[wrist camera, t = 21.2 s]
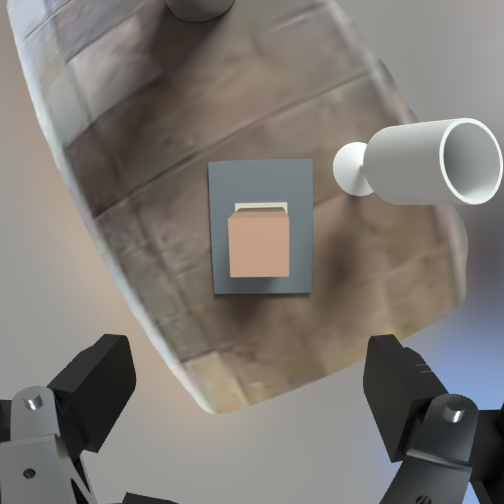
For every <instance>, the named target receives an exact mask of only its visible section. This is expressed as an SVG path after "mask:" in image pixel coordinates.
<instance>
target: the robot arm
mask: <svg viewBox="0 0 504 504" xmlns="http://www.w3.org/2000/svg"><path fill="white" fill-rule="evenodd" d="M165 2H166V4H167V5H168V7H169V8H170V10H171V12H172V13H173V14H174V15H175V16H176V17H178V18H180V19H182V20H185V21H189V22H203V21H208V20H211V19H214V18H216V17H218V16H220V15H222V14H223V13H224V12H226V11H227V10H228V9H229V8H230V7H231V6H232V4H233V2H234V0H165ZM135 386H136V373H135V368H134V364H133V360H132V355H131V350H130V345H129V341H128V338H127V337H126V336H125V335H114V334H113V335H112V334H104V335H103V336H102V337H101V338H100V339H99V340H98V341H97V342H96V343H95V344H94V345H93V346H91V347H89V348H87V349H85V350H83V351H81V352H80V353H79V354H78V355H77V356H76V357H75V358H74V359H73V360H72V362H70V363H69V364H68V365H67V366H66V368H64V369H63V370H62V371H61V372H60V373H59V374H58V375H57V376H56V377H55V378H54V379H53V380H52V381H51V382H50V384H49V385H47V387H43V386H33V387H28V388H25V389H23V390H21V391H19V392H18V393H17V394H16V395H15V396H14V397H13V399H12V400H0V504H1V503H2V504H98V503H97V501H96V498H95V496H94V493H93V490H92V487H91V484H90V481H89V478H88V475H87V472H86V468H85V465H84V462H83V459H82V457H81V455H80V454H81V452H82V451H83V450H87V451H91V452H95V453H98V451H99V450H100V448H101V446H102V444H103V443H104V441H105V439H106V438H107V436H108V434H109V433H110V431H111V429H112V427H113V426H114V424H115V422H116V420H117V419H118V417H119V415H120V414H121V412H122V410H123V409H124V407H125V405H126V404H127V402H128V400H129V399H130V397H131V395H132V393H133V392H134V390H135ZM363 388H364V393H365V396H366V398H367V401H368V403H369V406H370V408H371V411H372V414H373V416H374V419H375V421H376V424H377V426H378V429H379V431H380V434H381V437H382V439H383V442H384V444H385V447H386V450H387V452H388V455H389V458H390V461H391V463H393V462H398V461H403V462H402V464H401V466H400V468H399V469H398V471H397V473H396V475H395V477H394V479H393V481H392V482H391V484H390V486H389V488H388V489H387V491H386V493H385V495H384V496H383V498H382V500H381V501H380V503H379V504H462V502H463V499H464V496H465V493H466V490H467V486H468V483H469V482H471V485H472V487H473V489H474V491H475V494H476V496H477V498H478V500H479V503H480V504H504V403H503V405H502V408H501V409H500V410H478V407H477V405H476V404H475V403H474V402H473V401H472V400H471V399H469V398H467V397H465V396H463V395H459V394H449V393H448V391H447V390H446V388H445V387H444V386H443V385H442V383H441V382H440V380H439V379H438V378H437V377H436V375H435V374H434V373H433V372H432V371H431V369H430V367H429V366H428V365H426V362H425V361H424V359H423V358H422V357H421V356H420V354H418V353H416V352H415V351H413V350H412V349H410V348H408V347H405V348H403V347H402V345H401V344H400V343H399V341H398V340H397V339H396V337H395V336H394V335H393V334H390V335H378V336H371V337H370V339H369V342H368V349H367V356H366V363H365V370H364V376H363ZM115 504H178V503H175V502H172V501H170V500H163V499H158V498H152V497H147V496H142V495H137V494H132V493H128V492H127V493H126V495H125V497H124V500H123V502H122V503H115Z"/></svg>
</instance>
